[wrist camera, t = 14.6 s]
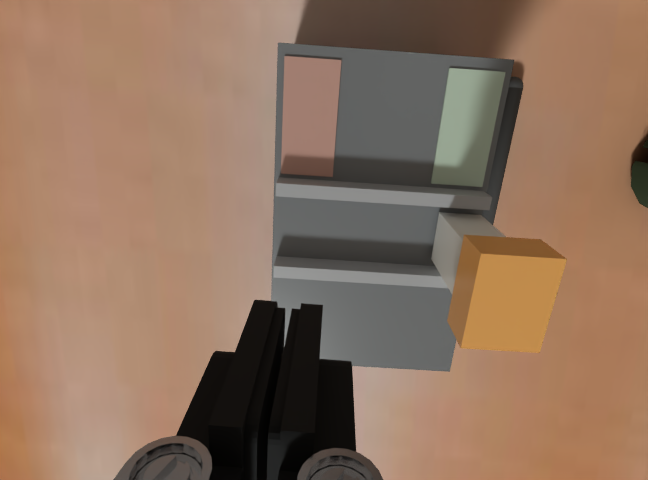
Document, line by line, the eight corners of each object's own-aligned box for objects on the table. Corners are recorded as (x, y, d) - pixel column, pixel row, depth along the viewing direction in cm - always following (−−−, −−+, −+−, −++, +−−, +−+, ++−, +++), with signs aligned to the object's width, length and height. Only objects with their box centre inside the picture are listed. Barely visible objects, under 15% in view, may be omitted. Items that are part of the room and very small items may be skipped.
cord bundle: (477, 74, 26) (484, 73, 24) (520, 77, 26) (528, 77, 25) (436, 297, 31) (441, 305, 30) (472, 299, 31) (477, 307, 30)
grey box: (292, 53, 25) (274, 40, 17) (458, 65, 25) (526, 58, 17) (283, 292, 31) (267, 375, 22) (419, 301, 31) (456, 386, 22)
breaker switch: (432, 199, 20) (480, 253, 14) (492, 203, 20) (567, 259, 14) (421, 269, 21) (460, 348, 15) (477, 272, 21) (539, 352, 15)
